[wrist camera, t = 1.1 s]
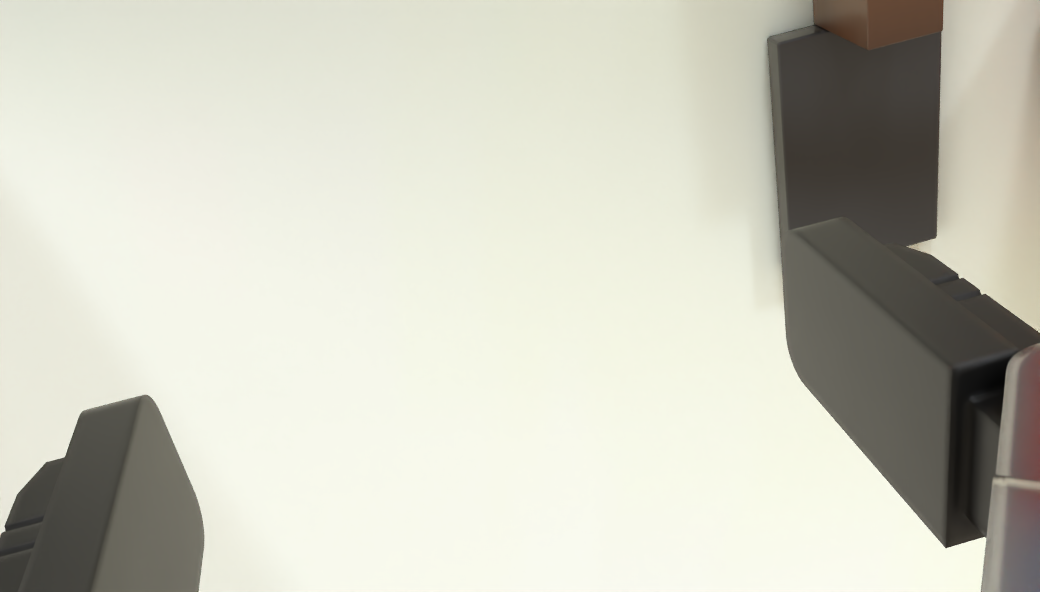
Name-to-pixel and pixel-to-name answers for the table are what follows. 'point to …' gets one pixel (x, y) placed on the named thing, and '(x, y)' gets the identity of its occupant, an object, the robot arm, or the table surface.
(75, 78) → the table surface
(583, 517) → the table surface
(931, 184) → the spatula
